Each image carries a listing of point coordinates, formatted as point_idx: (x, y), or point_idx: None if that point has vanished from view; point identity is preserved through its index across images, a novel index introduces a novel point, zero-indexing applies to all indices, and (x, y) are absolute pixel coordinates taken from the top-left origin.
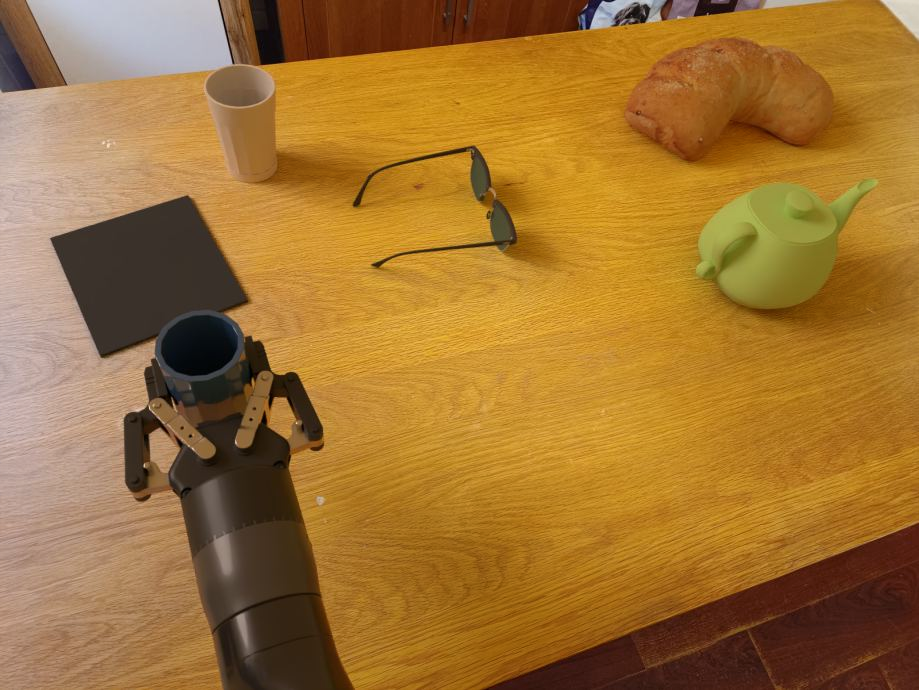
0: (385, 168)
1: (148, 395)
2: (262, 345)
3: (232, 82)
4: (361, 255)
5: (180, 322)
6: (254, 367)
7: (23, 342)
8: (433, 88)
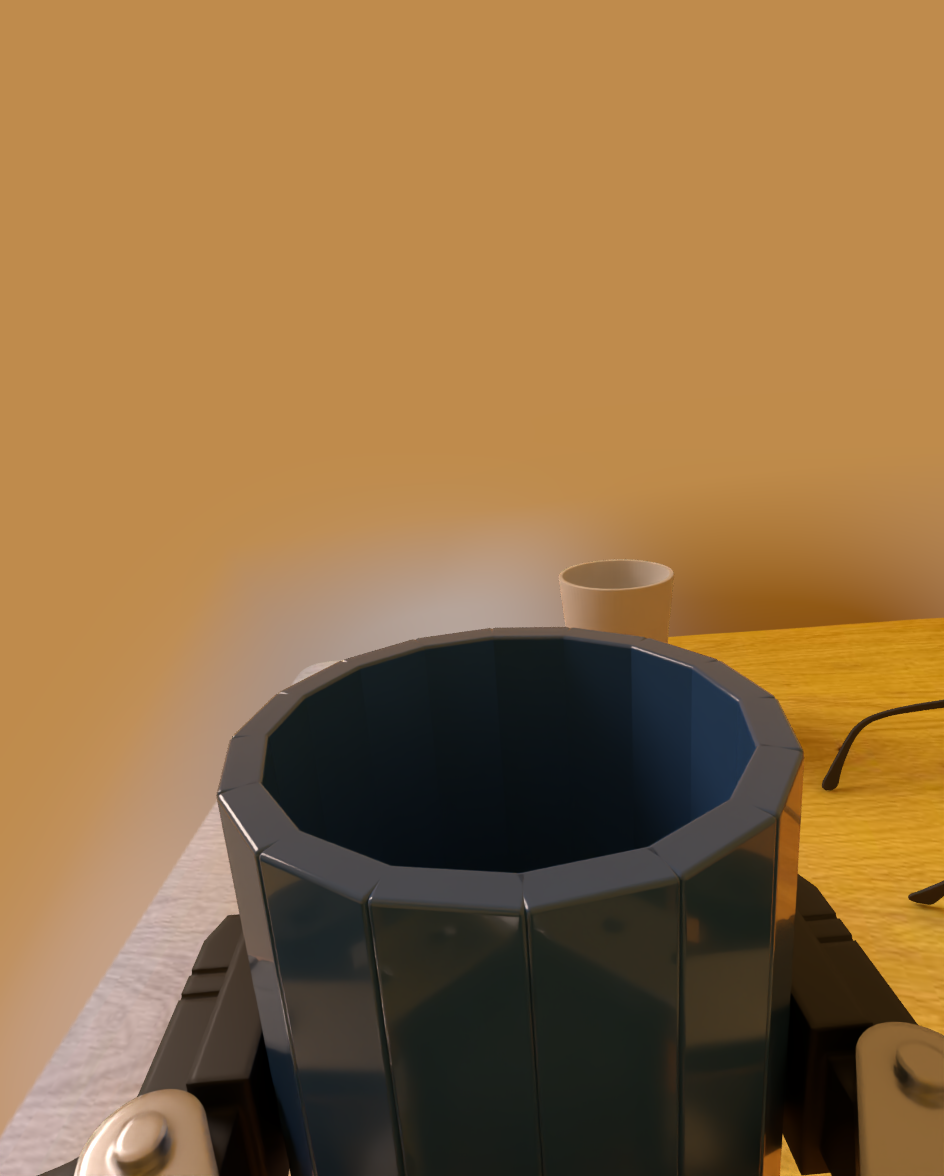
0: (887, 714)
1: (151, 1067)
2: (812, 891)
3: (600, 588)
4: (873, 877)
5: (426, 661)
6: (812, 990)
7: (136, 971)
8: (913, 650)
